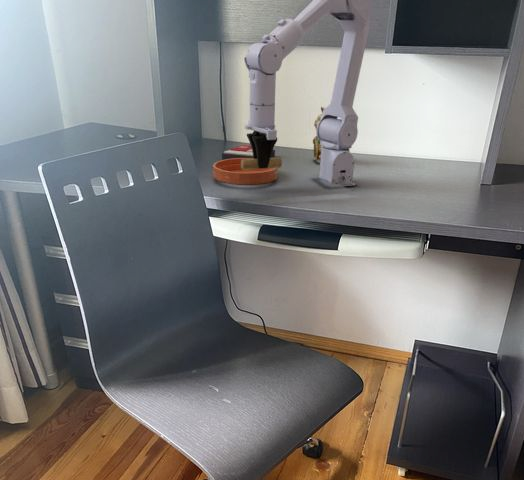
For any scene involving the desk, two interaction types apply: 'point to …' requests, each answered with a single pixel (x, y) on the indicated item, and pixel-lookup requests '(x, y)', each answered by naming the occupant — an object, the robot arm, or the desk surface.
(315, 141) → the decorative figurine
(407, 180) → the desk surface
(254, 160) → the cylinder
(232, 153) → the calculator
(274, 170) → the bowl
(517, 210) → the desk surface
